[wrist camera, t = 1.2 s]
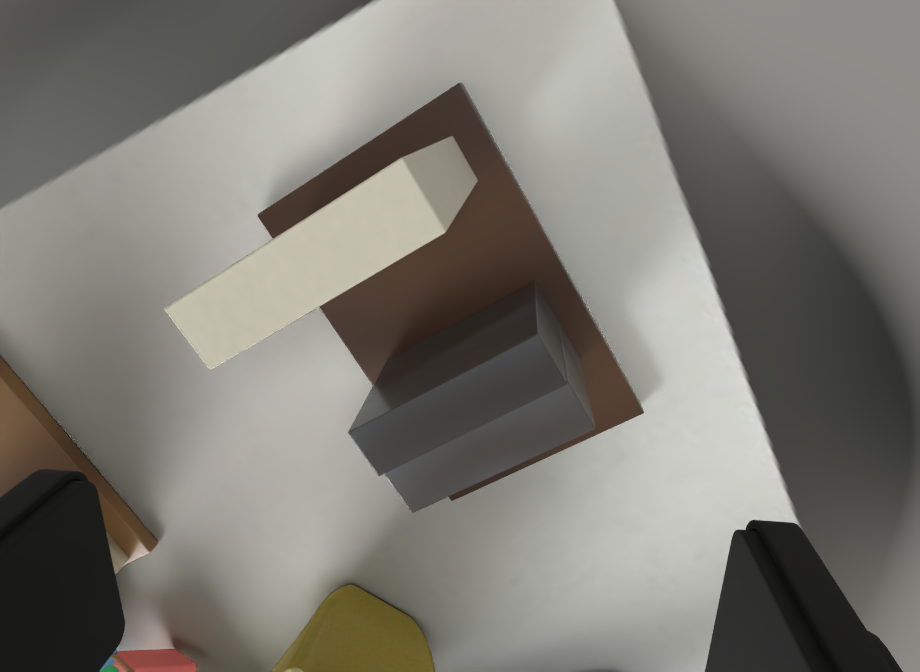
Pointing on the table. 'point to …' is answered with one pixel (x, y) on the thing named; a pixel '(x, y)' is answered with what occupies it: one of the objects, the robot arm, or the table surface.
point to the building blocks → (149, 661)
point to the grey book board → (456, 260)
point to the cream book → (326, 253)
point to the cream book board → (60, 465)
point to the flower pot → (358, 638)
